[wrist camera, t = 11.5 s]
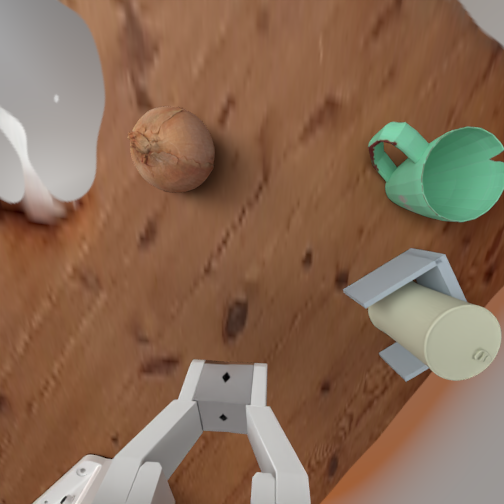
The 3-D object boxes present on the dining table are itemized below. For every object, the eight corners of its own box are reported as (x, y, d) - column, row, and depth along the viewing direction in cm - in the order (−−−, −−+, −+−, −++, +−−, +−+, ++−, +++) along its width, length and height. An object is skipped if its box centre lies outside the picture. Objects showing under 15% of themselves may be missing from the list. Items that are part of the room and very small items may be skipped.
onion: (163, 176, 36) (100, 172, 27) (180, 108, 32) (113, 76, 23) (216, 203, 33) (165, 209, 24) (239, 134, 30) (191, 110, 21)
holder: (380, 356, 39) (406, 381, 33) (342, 289, 37) (363, 303, 31) (445, 317, 39) (482, 335, 33) (411, 248, 37) (445, 254, 31)
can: (401, 342, 39) (472, 397, 27) (356, 315, 38) (411, 361, 26) (434, 295, 38) (523, 331, 26) (389, 266, 37) (462, 290, 25)
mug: (445, 175, 35) (526, 160, 26) (407, 232, 36) (471, 238, 26) (367, 118, 33) (423, 77, 24) (329, 179, 34) (367, 165, 24)
